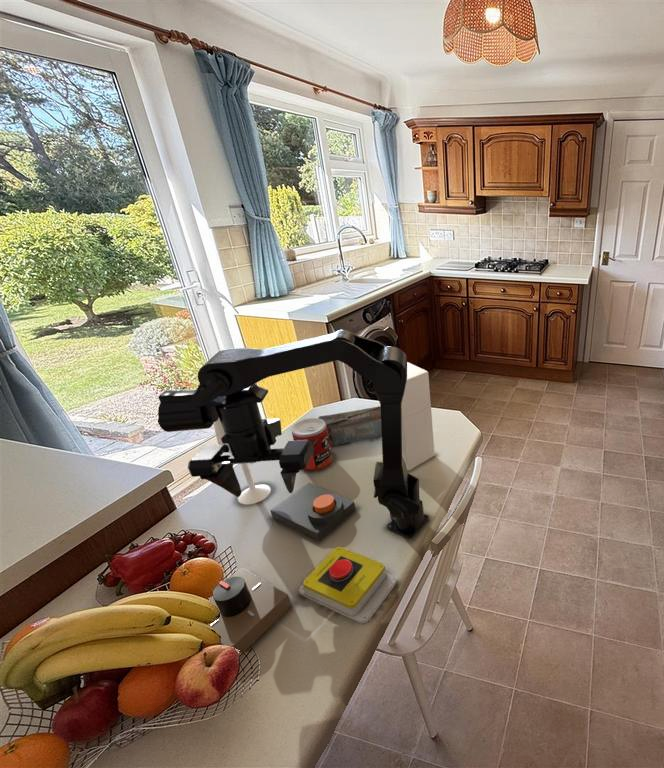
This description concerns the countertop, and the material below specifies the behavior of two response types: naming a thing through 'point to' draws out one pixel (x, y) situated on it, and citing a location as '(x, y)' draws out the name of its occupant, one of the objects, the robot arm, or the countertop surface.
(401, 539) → the countertop surface
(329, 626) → the countertop surface
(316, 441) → the canned food
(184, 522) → the countertop surface
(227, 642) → the dial console
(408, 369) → the tall white carton
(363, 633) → the countertop surface
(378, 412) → the beverage carton
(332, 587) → the emergency button
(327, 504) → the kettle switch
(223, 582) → the knob
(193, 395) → the robot arm
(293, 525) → the emergency button base
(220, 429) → the champagne flute
